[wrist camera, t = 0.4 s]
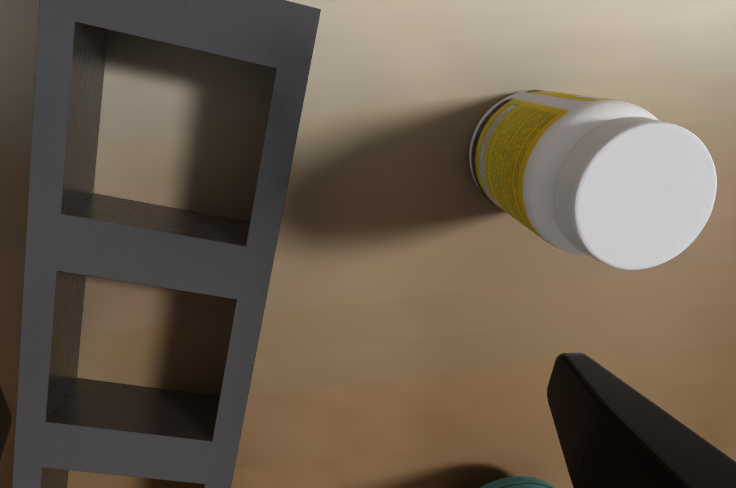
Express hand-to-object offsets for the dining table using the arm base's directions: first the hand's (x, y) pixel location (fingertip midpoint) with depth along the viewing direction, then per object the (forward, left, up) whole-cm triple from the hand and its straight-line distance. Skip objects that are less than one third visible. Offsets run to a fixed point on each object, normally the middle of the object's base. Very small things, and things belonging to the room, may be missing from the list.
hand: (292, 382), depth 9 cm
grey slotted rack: (-6, +5, -14) cm, 16 cm away
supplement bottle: (+4, -8, -14) cm, 17 cm away
